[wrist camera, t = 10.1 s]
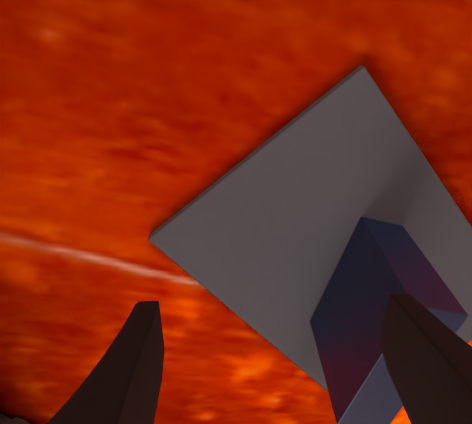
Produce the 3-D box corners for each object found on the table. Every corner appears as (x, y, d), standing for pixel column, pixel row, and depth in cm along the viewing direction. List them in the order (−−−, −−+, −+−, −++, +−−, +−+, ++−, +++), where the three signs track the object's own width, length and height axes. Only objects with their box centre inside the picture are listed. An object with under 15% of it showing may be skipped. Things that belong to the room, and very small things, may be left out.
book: (309, 321, 27) (336, 424, 20) (360, 215, 23) (413, 304, 17) (347, 328, 27) (384, 431, 21) (403, 225, 23) (469, 315, 17)
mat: (522, 304, 27) (528, 311, 27) (343, 399, 32) (345, 407, 31) (360, 63, 19) (364, 66, 19) (149, 234, 24) (147, 240, 23)
